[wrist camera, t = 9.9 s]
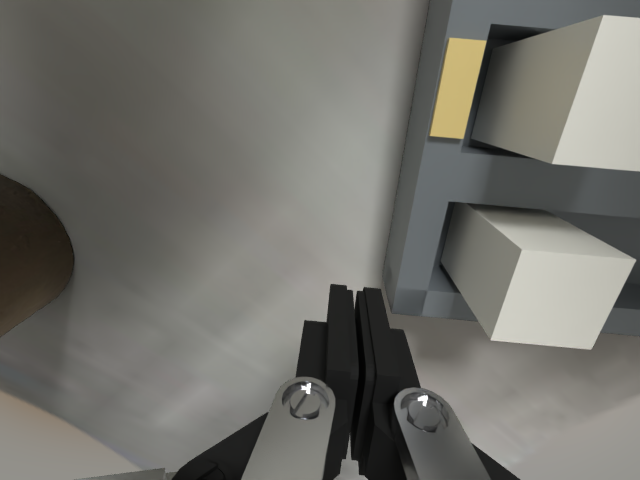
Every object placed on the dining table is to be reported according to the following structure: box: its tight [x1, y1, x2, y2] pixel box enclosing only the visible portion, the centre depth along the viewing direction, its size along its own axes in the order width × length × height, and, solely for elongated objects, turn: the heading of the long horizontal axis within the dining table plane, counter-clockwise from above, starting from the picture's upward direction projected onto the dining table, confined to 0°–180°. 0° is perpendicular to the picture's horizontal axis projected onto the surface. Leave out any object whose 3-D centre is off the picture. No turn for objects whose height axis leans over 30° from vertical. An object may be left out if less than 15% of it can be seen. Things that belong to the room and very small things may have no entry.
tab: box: [441, 202, 636, 350], centre depth 16 cm, size 4×4×7 cm
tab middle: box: [471, 15, 640, 172], centre depth 13 cm, size 4×4×7 cm
